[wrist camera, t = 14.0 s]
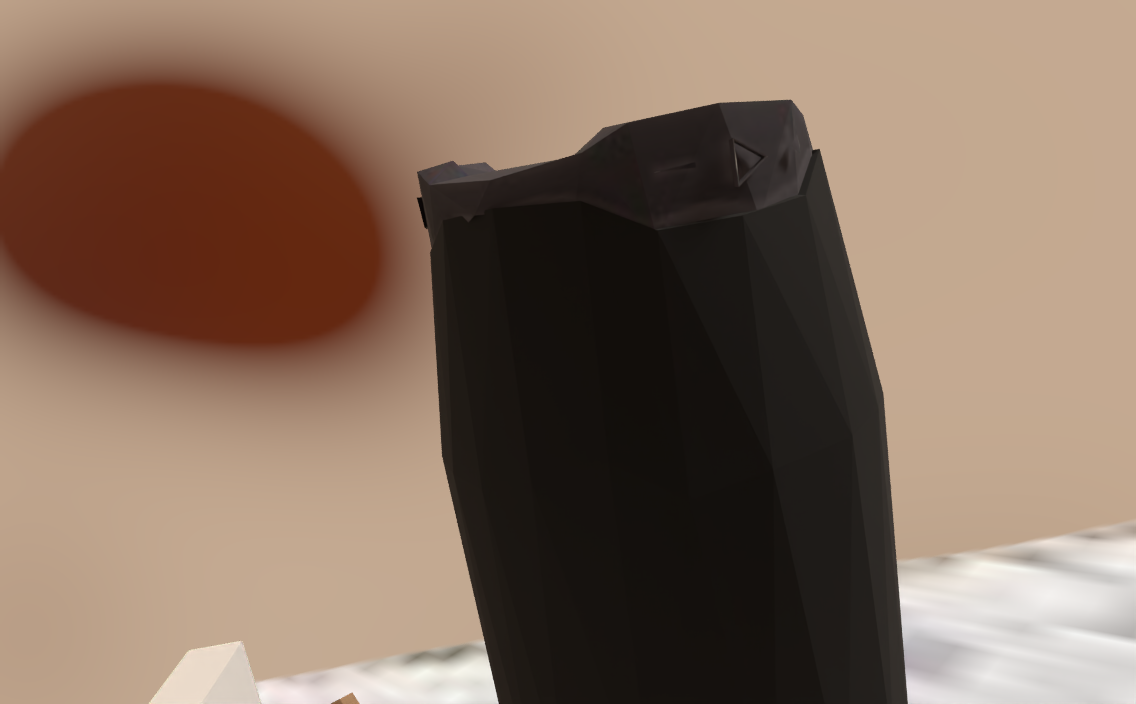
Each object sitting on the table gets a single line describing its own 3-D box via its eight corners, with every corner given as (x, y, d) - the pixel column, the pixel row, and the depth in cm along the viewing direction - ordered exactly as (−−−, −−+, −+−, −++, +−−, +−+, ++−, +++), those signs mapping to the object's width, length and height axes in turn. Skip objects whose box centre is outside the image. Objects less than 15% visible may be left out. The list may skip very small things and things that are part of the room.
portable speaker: (992, 1111, 15) (926, 59, 10) (526, 1107, 16) (287, 181, 11) (869, 766, 23) (803, 104, 18) (569, 783, 24) (440, 172, 20)
